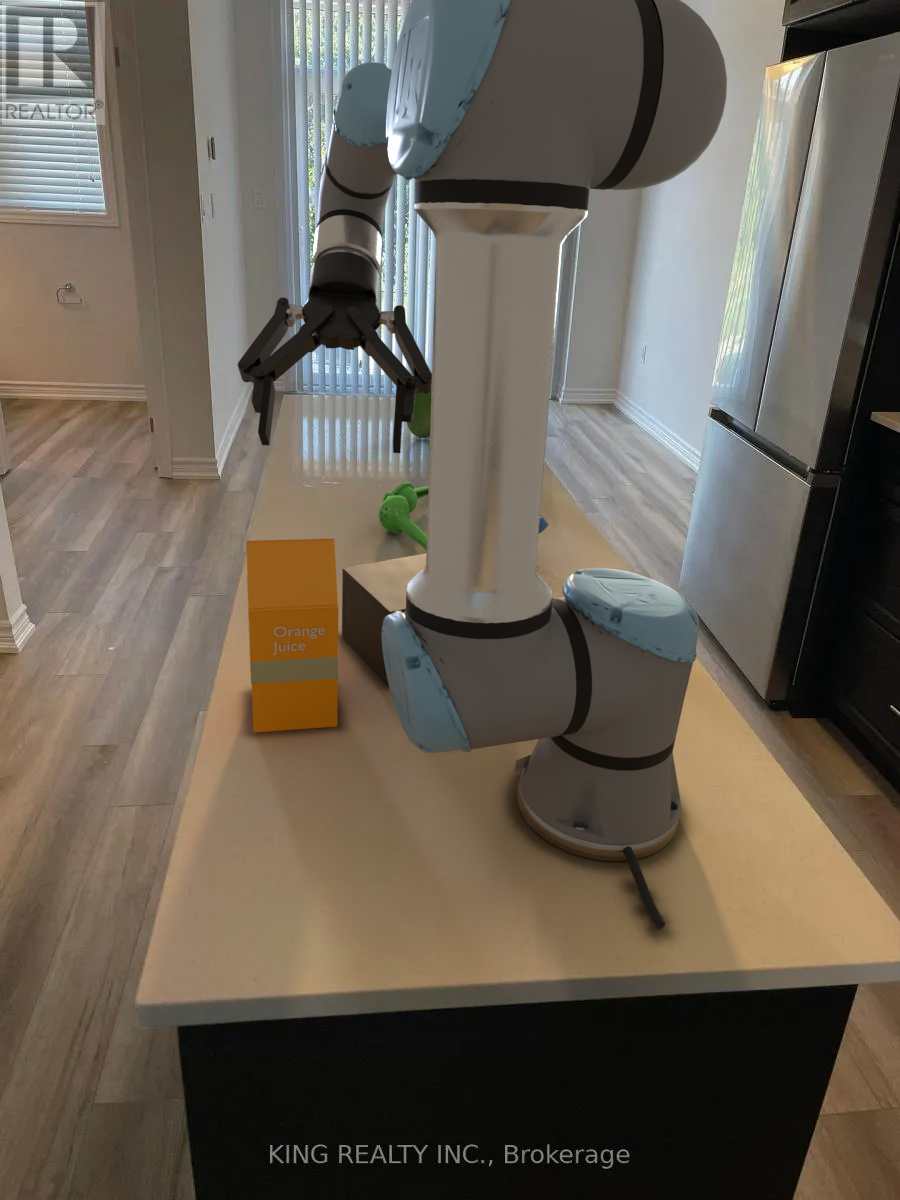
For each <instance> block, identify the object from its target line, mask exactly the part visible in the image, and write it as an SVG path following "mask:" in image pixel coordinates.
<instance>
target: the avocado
mask: <svg viewBox="0 0 900 1200" xmlns="http://www.w3.org/2000/svg"><path fill="white" fill-rule="evenodd" d="M431 392H432V390H431ZM431 392H430V393H427V394H425V393H423V392H422V393H418V394H417V395H416V396H415V399H414V416H413V420H412V422H406V426H407V428H408V431H410V433H411V434H412V435H413V436H415V437H416V438H419V439H428V438H430V426H431Z"/></svg>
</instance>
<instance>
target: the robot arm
mask: <svg viewBox="0 0 900 1200" xmlns="http://www.w3.org/2000/svg"><path fill="white" fill-rule="evenodd" d="M402 24H403V25H402V27H401V30H400V32H399V33H400V34H399V37H398V41H397V46H396V50H395V54H394V59H393V64H392V68H391V69H390V68H389V67H388V66H387V64H385V63H382V62H377V61H368V62H367V61H366V62H363V63H360V64H358V65H355V66H354V67H352V68H351V69H350V70H349V71H348V72H346V74H345V76H344V77H343V79H342V82H341V85H340V87H339V90H338V95H337V98H336V103H335V105H334V109H333V112H332V124H331V130H330V137H329V143H328V149H327V151H326V153H325V155H324V157H323V162H322V166H321V167H320V168H321V171H320V175H319V179H318V180H319V181H318V188H319V193H318V203H317V218H316V227H315V233H314V240H313V247H312V248H313V249H312V258H311V268H310V279H309V285H308V286H309V287H308V296H307V300H306V302H305V303H304V304H303V305H299V304H292V303H290V301H289V298H287V297H285V296H284V297H279V298H278V299H277V301H276V305H275V309H274V312H273V313H274V314H273V315H272V316H271V318H270V319H269V320H268V322H267V323H265V326H263V328H262V330H261V331H260V332H259V334H258V335H257V336H256V338H255V339H254V340H253V341H252V342H251V344H250V346H249V347H248V348H247V350H246V351H245V352H244V353H243V355H242V357H241V358H240V359H239V361H238V362H237V368H238V371H239V374H240V377H241V380H242V382H244V383H252V384H253V387H252V395H251V405H252V407H253V411H254V413H255V414H259V419H258V420H259V421H258V429H257V434H258V436H259V440H260V443H261V446H270V442H271V434H272V425H273V415H274V408H275V407H274V406H275V399H276V387H275V384H274V383H275V382H276V381H277V380H278V379H279V378H280V377H282V376H283V375H284V374H285V373H286V372H288V371H289V370H290V369H291V368H292V367H294V365H296V364H297V363H298V362H300V360H301V359H303V358H304V357H305V356H307V355H308V354H309V353H313V352H315V351H316V350H317V349H318V348H320V346H321V345H322V346H324V348H325V349H339V348H340V349H345V350H347V351H348V350H350V351H354V350H355V348H359V347H360V348H361V349H362V351H364V353H365V354H366V355H367V356H368V357H370V358H372V360H373V361H374V362H375V363H376V364H377V365H378V367H379V368H380V369H381V370H382V372H384V374H385V375H386V376H387V377H388V378H389V379H390V381H391V382H392V384H394V385H395V388H396V389H395V400H394V401H395V404H394V416H393V433H392V434H393V435H392V453H393V454H401V452H402V451H401V450H402V435H403V434H402V433H403V431H402V430H403V423H407V422H412V420H413V416H414V399H415V396H416V395H417V394H418V393H422V392H423V393H425V394H427V393H430V392H431V390H432V392H431V426H430V437H429V460H428V461H429V464H428V465H429V466H428V486H429V493H428V498H427V530H426V535H427V550H426V553H427V560H426V566H425V568H424V569H423V570H422V571H420V572H419V573H418V574H417V575H416V576H415V577H413V578H412V579H411V580H410V581H409V583H408V584H407V590H406V610H405V612H401V611H395V612H394V613H392V614H389V615H387V616H386V617H385V619H384V621H383V627H382V634H381V635H382V650H383V658H384V664H385V669H386V674H387V679H388V683H389V685H388V688H389V691H390V695H391V698H392V702H393V706H394V708H395V711H396V715H397V716H398V720H399V723H400V725H401V727H402V729H403V731H404V733H405V735H406V736H407V738H408V740H409V741H410V742H411V744H412V745H413V746H414V747H415V748H416V749H419V750H420V751H422V752H424V753H428V754H439V753H451V752H459V751H462V752H463V753H471V751H472V750H475V749H476V750H477V749H483V748H490V747H495V746H501V745H502V746H503V745H508V744H515V743H521V742H527V741H529V742H530V741H534V740H537V742H536V743H535V746H534V747H533V749H532V751H531V754H529V755H526V756H524V757H521V758H519V759H516V760H515V765H514V766H515V767H514V773H516V772H519V771H520V773H519V777H518V785H517V791H516V792H517V793H516V800H517V805H518V808H519V811H520V813H521V816H522V817H523V818H524V820H525V822H526V823H527V825H528V826H529V827H530V828H531V829H532V830H533V831H534V832H536V834H538V835H539V836H540V837H541V838H543V839H544V840H546V841H547V842H549V843H550V844H551V845H553V846H555V847H557V848H559V849H561V850H563V851H565V852H568V853H571V854H574V855H577V856H579V857H584V858H587V859H591V860H597V861H604V862H605V861H606V862H624V861H625V862H626V863H627V864H628V867H629V870H630V872H631V875H632V877H633V880H634V883H635V885H636V887H637V891H638V893H639V896H640V898H641V901H642V902H643V905H644V907H645V909H646V912H647V913H648V915H649V917H650V919H651V921H652V922H653V925H654V927H655V928H656V929H657V930H660V929H663V928H664V927H665V926H666V922H665V920H664V917H663V916H662V914H661V913H660V911H659V908H658V907H657V905H656V903H655V901H654V899H653V896H652V894H651V892H650V890H649V889H650V888H649V886H648V883H647V882H646V879H645V876H644V874H643V871H642V869H641V867H640V864H639V861H638V859H642V858H645V857H646V858H647V857H649V856H651V855H653V854H655V853H657V852H659V851H660V850H662V849H663V848H665V846H667V845H668V844H669V843H670V842H671V840H672V839H673V837H674V836H675V834H676V832H677V828H678V824H679V820H680V816H681V812H682V802H681V794H680V789H679V783H678V782H679V781H678V777H677V771H676V764H675V759H674V747H675V742H676V738H677V734H678V730H679V725H680V721H681V715H682V711H683V707H684V702H685V697H686V693H687V689H688V685H689V682H690V677H691V673H692V670H693V669H692V668H693V665H694V662H695V661H696V659H697V654H698V653H697V644H698V636H699V628H700V620H699V616H698V614H697V611H696V609H695V608H694V606H693V605H692V604H691V602H690V601H689V600H688V599H687V598H685V596H684V595H682V594H681V593H680V592H677V591H676V590H675V589H673V588H671V587H670V586H668V585H666V584H664V583H662V582H660V581H658V580H655V579H653V578H649V577H647V576H645V575H641V574H639V573H635V572H630V571H626V570H622V569H616V568H607V567H588V568H587V567H586V568H581V569H578V570H576V571H574V572H573V573H571V574H570V575H568V576H567V578H566V581H565V583H563V585H562V596H560V597H554V595H553V590H552V589H551V587H550V586H549V585H548V583H546V582H545V581H544V580H543V578H542V577H541V576H540V575H539V574H538V572H537V571H536V570H537V559H538V558H537V557H538V544H539V534H540V533H539V522H540V515H541V508H542V496H543V495H542V494H543V484H544V483H543V482H544V469H545V460H546V458H545V457H546V445H547V433H548V420H549V408H550V396H551V384H552V374H553V373H552V372H553V361H554V360H553V358H554V349H555V347H554V345H555V334H556V322H557V321H556V320H557V310H558V299H559V298H558V297H559V285H560V271H561V261H562V260H561V259H562V247H563V244H564V242H565V240H566V239H567V238H568V237H569V235H570V234H571V233H572V232H573V231H574V230H575V229H576V228H577V227H578V226H579V225H580V224H581V223H582V222H583V221H584V220H586V218H587V217H588V212H589V211H588V209H589V199H590V190H599V191H600V190H601V191H602V190H603V191H605V190H613V191H630V190H638V189H646V188H649V187H653V186H657V185H660V184H662V183H665V182H669V181H670V180H673V179H674V178H675V177H677V176H679V175H680V174H682V173H684V172H685V171H687V170H688V169H689V168H690V167H691V166H692V165H694V164H695V163H696V162H697V161H698V160H699V159H700V158H701V156H702V155H703V154H704V153H705V152H706V150H707V149H708V148H709V147H710V145H711V142H712V141H713V139H714V137H715V135H716V134H717V132H718V130H719V127H720V124H721V122H722V119H723V116H724V110H725V107H726V101H727V95H728V93H727V92H728V90H727V89H728V76H727V68H726V61H725V58H724V55H723V52H722V50H721V46H720V44H719V42H718V41H717V39H716V36H715V34H714V33H713V30H712V28H710V26H709V25H708V24H707V22H706V21H705V20H704V19H703V17H702V16H701V15H700V14H699V13H697V11H695V10H694V9H692V7H691V6H689V5H688V4H687V3H686V2H683V1H682V0H411V1H410V4H409V7H408V9H407V12H406V16H405V18H404V21H403V23H402ZM396 175H399V176H400V177H403V179H405V180H406V181H411V180H412V179H414V204H413V210H414V211H415V212H416V214H417V215H418V216H419V217H420V218H421V220H422V221H423V222H424V223H425V224H426V226H427V227H428V228H429V230H430V231H432V234H433V236H434V238H435V257H434V259H435V261H434V262H435V263H434V291H433V293H434V294H433V295H434V296H433V297H434V298H433V325H432V326H433V327H432V331H433V332H432V359H431V360H432V365H431V368H432V369H430V367H429V366H428V363H427V362H426V360H425V358H424V356H423V354H422V352H421V350H420V348H419V346H418V344H417V341H416V339H415V338H414V335H413V334H412V332H411V330H410V328H409V326H408V325H407V318H406V309H405V307H404V306H403V305H402V304H401V305H400V304H398V305H396V306H394V308H393V310H383V311H381V310H380V308H379V306H378V305H379V291H380V274H381V265H382V250H383V232H384V223H385V214H386V207H387V202H388V200H389V195H390V192H391V189H392V187H393V183H394V181H395V177H396ZM299 320H302V321H303V322H304V323H303V324H302V325H301V326H300V327H299V329H298V331H297V333H296V334H294V335H293V336H292V337H291V338H289V339H288V340H287V341H286V342H285V343H283V344H282V345H281V346H280V347H279V348H277V347H278V345H280V343H281V341H282V340H283V339H284V337H285V336H286V334H287V332H288V331H289V327H290V328H292V327H294V326H295V324H296V322H297V321H299ZM381 325H383V326H385V327H386V329H387V331H388V332H389V333H390V334H394V338H395V340H396V344H397V346H398V347H399V349H400V352H401V353H402V356H403V357H404V360H405V361H406V364H407V366H408V367H409V369H410V371H409V370H408V369H407V368H406V366H405V365H404V364H403V363H402V361H400V359H399V358H398V357H397V356H396V355H395V354H394V352H393V351H391V349H390V348H389V347H388V345H386V343H385V342H384V341H383V340H382V339H381V338H380V336H379V334H378V332H377V330H378V329H379V327H380V326H381ZM276 348H277V349H276ZM275 349H276V350H275Z"/></svg>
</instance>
